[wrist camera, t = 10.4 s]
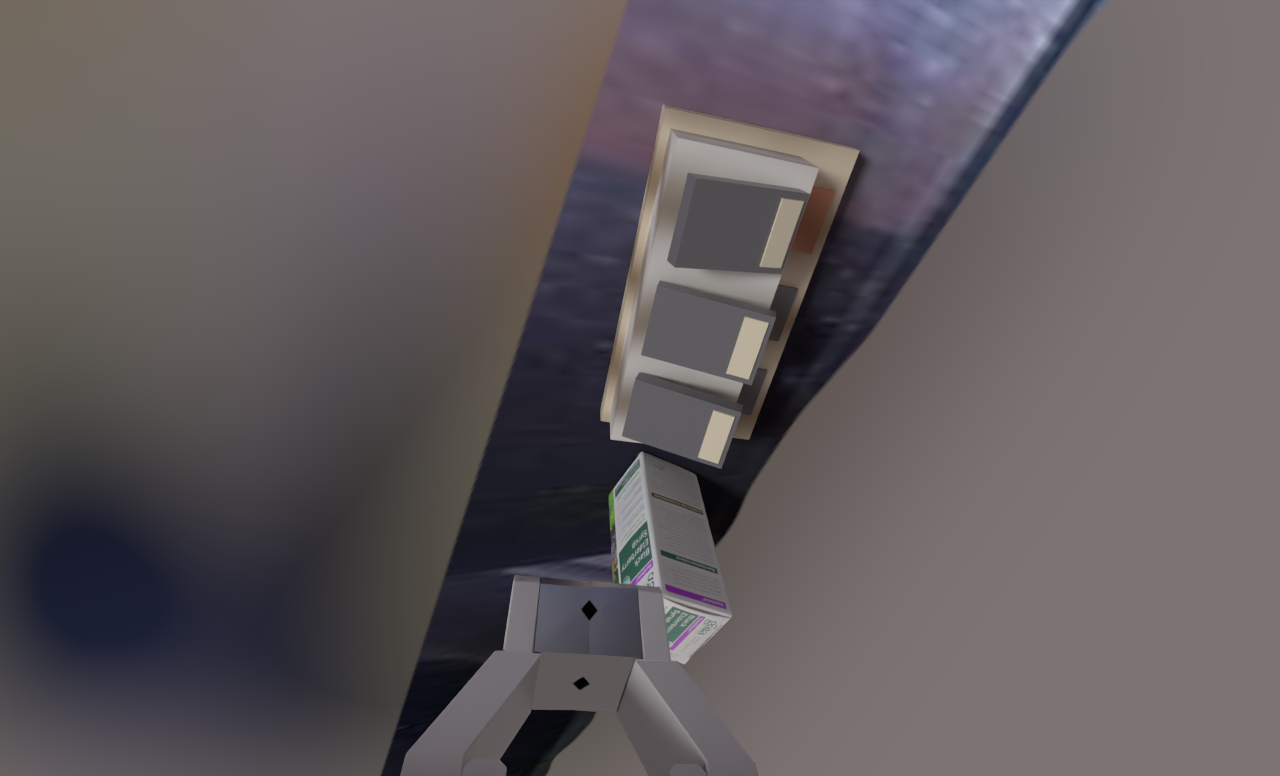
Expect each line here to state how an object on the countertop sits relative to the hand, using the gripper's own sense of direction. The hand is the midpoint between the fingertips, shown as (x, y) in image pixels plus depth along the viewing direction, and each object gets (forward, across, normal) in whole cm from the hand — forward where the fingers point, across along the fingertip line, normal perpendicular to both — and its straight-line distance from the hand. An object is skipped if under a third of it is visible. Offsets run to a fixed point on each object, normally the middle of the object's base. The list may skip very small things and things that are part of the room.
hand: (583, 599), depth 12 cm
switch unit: (+29, -9, +4) cm, 31 cm away
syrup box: (+29, -9, +22) cm, 38 cm away
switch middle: (+22, -8, +4) cm, 24 cm away
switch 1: (+22, -8, -3) cm, 24 cm away
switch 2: (+22, -8, +10) cm, 26 cm away
